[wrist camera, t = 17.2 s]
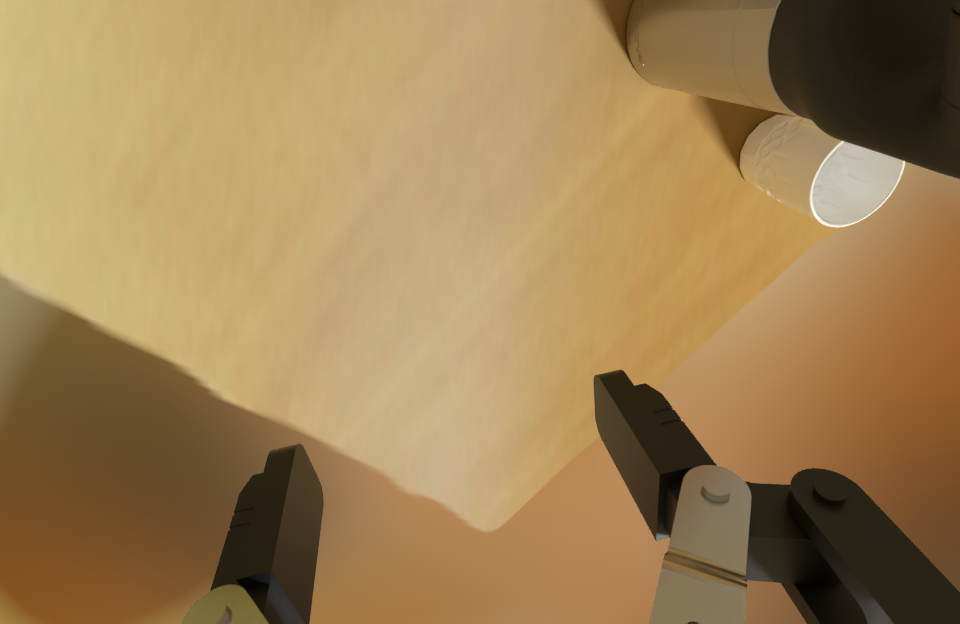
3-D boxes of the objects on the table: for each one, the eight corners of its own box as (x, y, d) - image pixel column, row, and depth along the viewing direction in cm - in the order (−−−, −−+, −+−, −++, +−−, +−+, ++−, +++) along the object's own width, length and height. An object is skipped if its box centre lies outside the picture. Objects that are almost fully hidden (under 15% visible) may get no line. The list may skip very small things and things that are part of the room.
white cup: (784, 87, 45) (880, 102, 36) (825, 143, 48) (921, 169, 39) (716, 159, 47) (792, 189, 38) (760, 207, 50) (838, 245, 42)
